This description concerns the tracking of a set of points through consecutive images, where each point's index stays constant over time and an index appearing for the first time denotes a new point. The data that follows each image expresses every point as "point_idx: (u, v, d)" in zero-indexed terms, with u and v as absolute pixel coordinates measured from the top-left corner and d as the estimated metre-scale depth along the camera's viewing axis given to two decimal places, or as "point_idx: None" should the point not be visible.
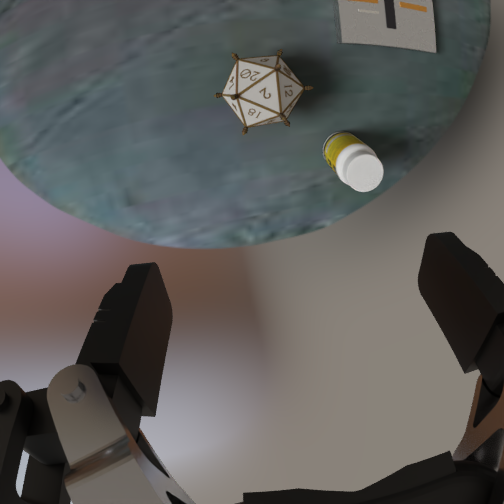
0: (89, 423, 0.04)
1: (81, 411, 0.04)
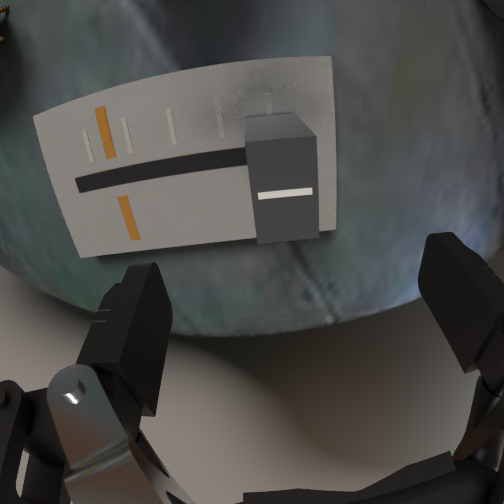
0: (89, 423, 0.04)
1: (81, 411, 0.04)
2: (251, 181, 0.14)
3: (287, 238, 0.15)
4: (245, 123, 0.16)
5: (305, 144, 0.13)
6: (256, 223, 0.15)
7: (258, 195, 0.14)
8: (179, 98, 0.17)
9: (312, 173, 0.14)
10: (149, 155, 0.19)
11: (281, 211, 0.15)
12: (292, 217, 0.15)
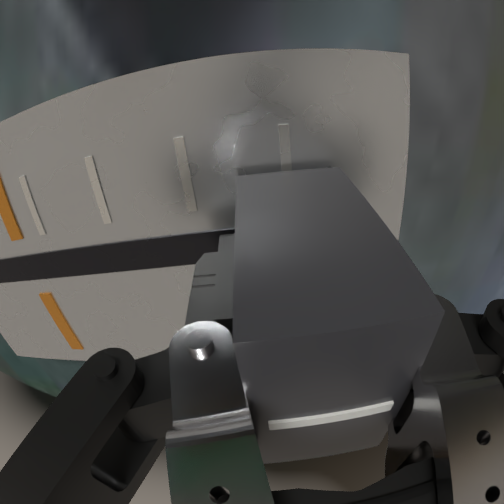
0: (235, 374, 0.05)
1: (204, 370, 0.05)
2: (253, 407, 0.05)
3: (321, 455, 0.07)
4: (237, 201, 0.07)
5: (410, 333, 0.04)
6: (262, 449, 0.06)
7: (270, 426, 0.05)
8: (106, 136, 0.08)
9: (404, 381, 0.05)
10: (70, 239, 0.10)
11: (317, 434, 0.06)
12: (337, 437, 0.06)
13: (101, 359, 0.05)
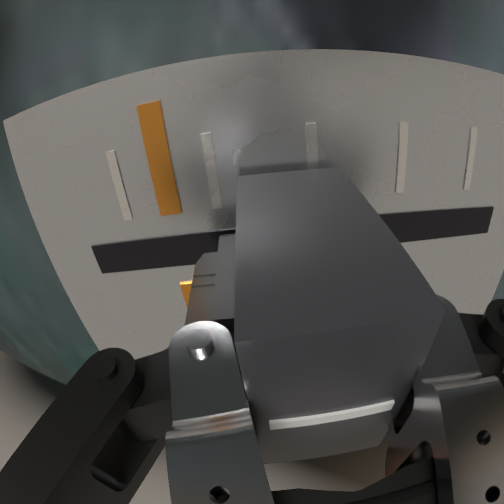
0: (234, 374, 0.05)
1: (204, 370, 0.05)
2: (254, 406, 0.05)
3: (321, 455, 0.07)
4: (237, 201, 0.07)
5: (411, 332, 0.04)
6: (263, 449, 0.06)
7: (271, 425, 0.05)
8: (336, 106, 0.08)
9: (404, 380, 0.05)
10: None
11: (318, 434, 0.06)
12: (338, 437, 0.06)
13: (101, 360, 0.05)
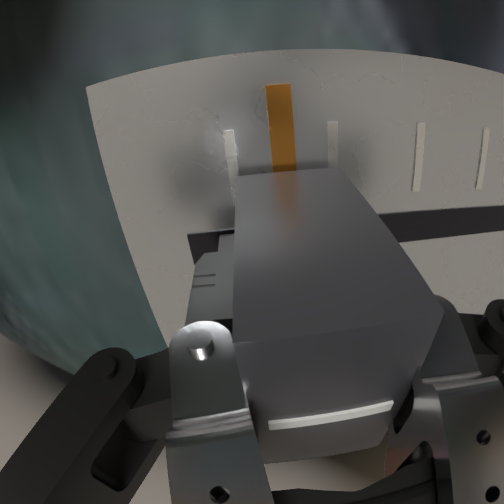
0: (235, 374, 0.05)
1: (204, 370, 0.05)
2: (253, 407, 0.05)
3: (321, 455, 0.07)
4: (237, 202, 0.07)
5: (410, 333, 0.04)
6: (262, 449, 0.06)
7: (270, 426, 0.05)
8: (440, 109, 0.08)
9: (403, 381, 0.05)
10: None
11: (317, 435, 0.06)
12: (337, 437, 0.06)
13: (101, 359, 0.05)
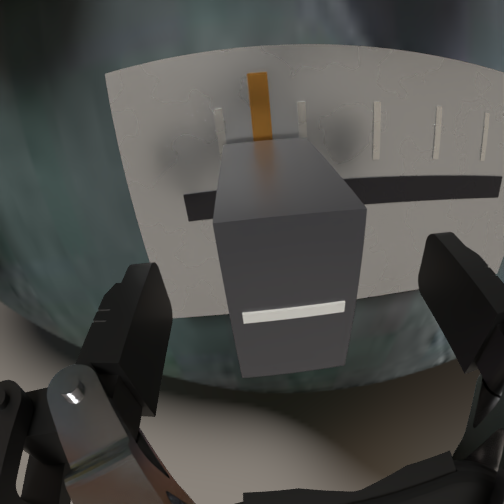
0: (89, 423, 0.04)
1: (81, 411, 0.04)
2: (229, 294, 0.07)
3: (293, 370, 0.09)
4: (222, 158, 0.10)
5: (342, 225, 0.06)
6: (240, 354, 0.08)
7: (244, 318, 0.07)
8: (394, 90, 0.10)
9: (349, 278, 0.07)
10: None
11: (286, 337, 0.08)
12: (304, 343, 0.08)
13: None
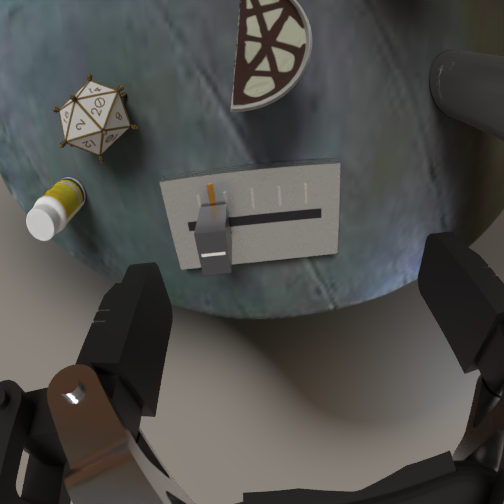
0: (89, 423, 0.04)
1: (81, 411, 0.04)
2: (198, 249, 0.31)
3: (216, 273, 0.33)
4: (198, 214, 0.34)
5: (220, 234, 0.31)
6: (201, 266, 0.33)
7: (201, 255, 0.32)
8: (258, 184, 0.35)
9: (224, 246, 0.31)
10: (238, 213, 0.37)
11: (212, 261, 0.32)
12: (217, 264, 0.33)
13: None
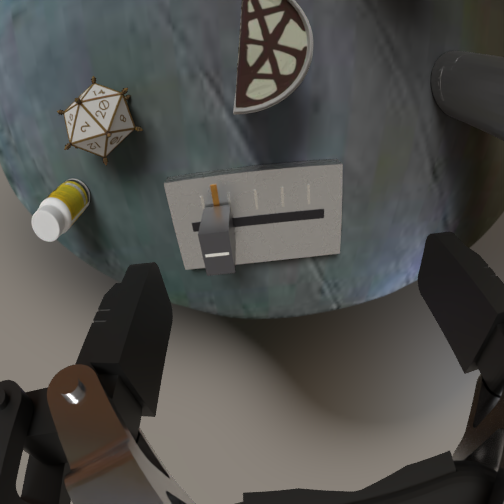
0: (89, 423, 0.04)
1: (81, 411, 0.04)
2: (202, 250, 0.32)
3: (220, 273, 0.34)
4: (202, 215, 0.34)
5: (223, 234, 0.31)
6: (205, 266, 0.33)
7: (205, 255, 0.32)
8: (261, 185, 0.35)
9: (228, 246, 0.32)
10: (241, 213, 0.37)
11: (216, 261, 0.33)
12: (221, 264, 0.33)
13: None
